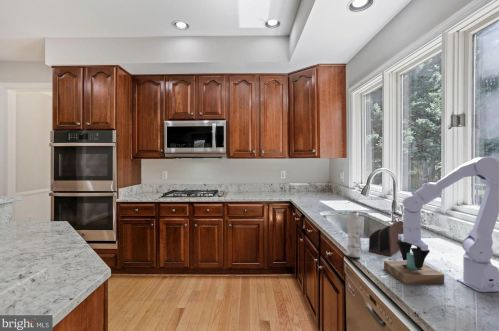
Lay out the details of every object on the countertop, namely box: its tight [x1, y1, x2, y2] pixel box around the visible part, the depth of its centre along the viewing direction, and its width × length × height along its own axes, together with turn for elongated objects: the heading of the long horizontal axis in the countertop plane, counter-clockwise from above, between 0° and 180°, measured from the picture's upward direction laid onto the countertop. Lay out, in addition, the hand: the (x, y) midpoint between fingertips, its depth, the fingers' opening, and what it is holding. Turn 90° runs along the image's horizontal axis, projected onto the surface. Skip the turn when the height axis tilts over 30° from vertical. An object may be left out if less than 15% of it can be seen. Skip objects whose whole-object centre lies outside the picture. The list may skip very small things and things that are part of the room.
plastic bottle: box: [346, 211, 363, 259], centre depth 124 cm, size 6×7×20 cm
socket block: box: [383, 260, 445, 285], centre depth 103 cm, size 14×14×3 cm
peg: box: [406, 252, 418, 270], centre depth 103 cm, size 4×4×8 cm
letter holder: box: [368, 220, 403, 257], centre depth 134 cm, size 10×20×14 cm, turn 135°
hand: (412, 263), depth 103 cm, fingers open, 7 cm apart
